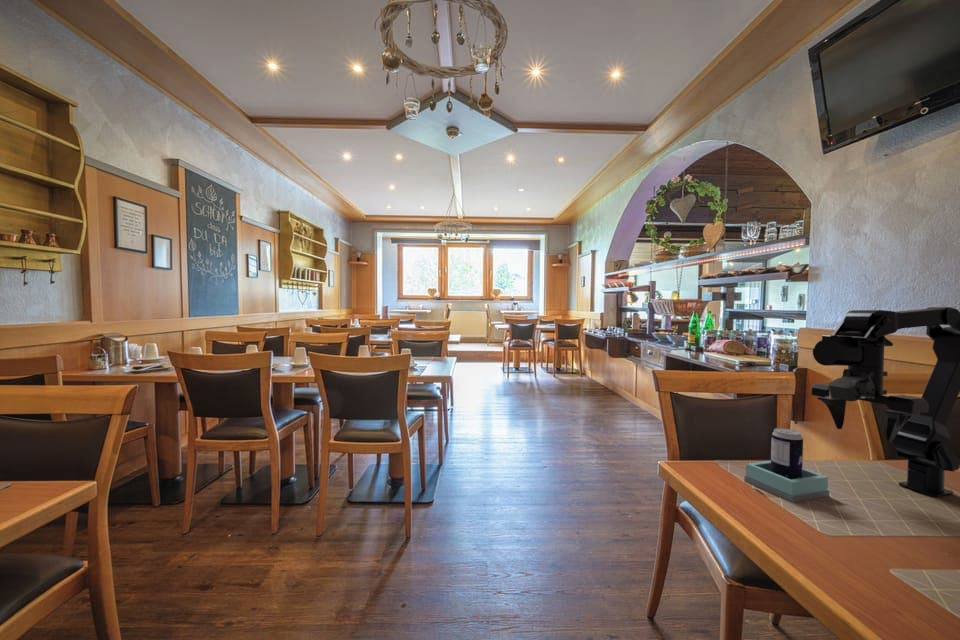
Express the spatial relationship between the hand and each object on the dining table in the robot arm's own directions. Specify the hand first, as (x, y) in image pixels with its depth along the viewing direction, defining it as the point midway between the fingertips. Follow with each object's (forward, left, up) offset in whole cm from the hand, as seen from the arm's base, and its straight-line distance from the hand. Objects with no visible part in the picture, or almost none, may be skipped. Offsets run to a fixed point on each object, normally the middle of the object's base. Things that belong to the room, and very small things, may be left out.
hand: (863, 434), depth 88 cm
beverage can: (+15, -6, -12) cm, 20 cm away
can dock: (+15, -6, -13) cm, 21 cm away
